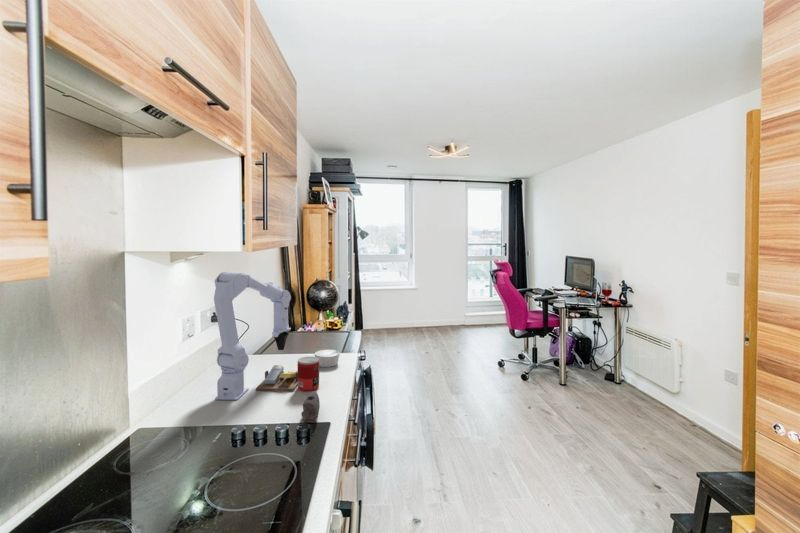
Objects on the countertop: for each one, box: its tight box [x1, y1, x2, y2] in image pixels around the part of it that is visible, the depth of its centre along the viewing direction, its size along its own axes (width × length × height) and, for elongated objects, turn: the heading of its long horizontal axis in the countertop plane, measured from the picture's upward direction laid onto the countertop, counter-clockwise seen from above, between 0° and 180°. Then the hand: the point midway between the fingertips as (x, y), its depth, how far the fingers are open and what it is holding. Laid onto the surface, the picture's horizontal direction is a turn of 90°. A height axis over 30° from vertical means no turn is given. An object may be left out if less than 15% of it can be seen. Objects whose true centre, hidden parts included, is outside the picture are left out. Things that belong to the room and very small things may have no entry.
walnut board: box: [255, 370, 298, 392], centre depth 141 cm, size 16×14×4 cm
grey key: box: [263, 364, 284, 384], centre depth 141 cm, size 10×4×2 cm, turn 179°
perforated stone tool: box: [301, 391, 321, 424], centre depth 115 cm, size 15×5×7 cm, turn 7°
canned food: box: [297, 356, 320, 393], centre depth 136 cm, size 8×8×11 cm
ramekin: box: [314, 349, 341, 368], centre depth 164 cm, size 11×11×5 cm
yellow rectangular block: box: [280, 370, 298, 378], centre depth 141 cm, size 10×4×2 cm, turn 0°
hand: (281, 349), depth 152 cm, fingers closed
